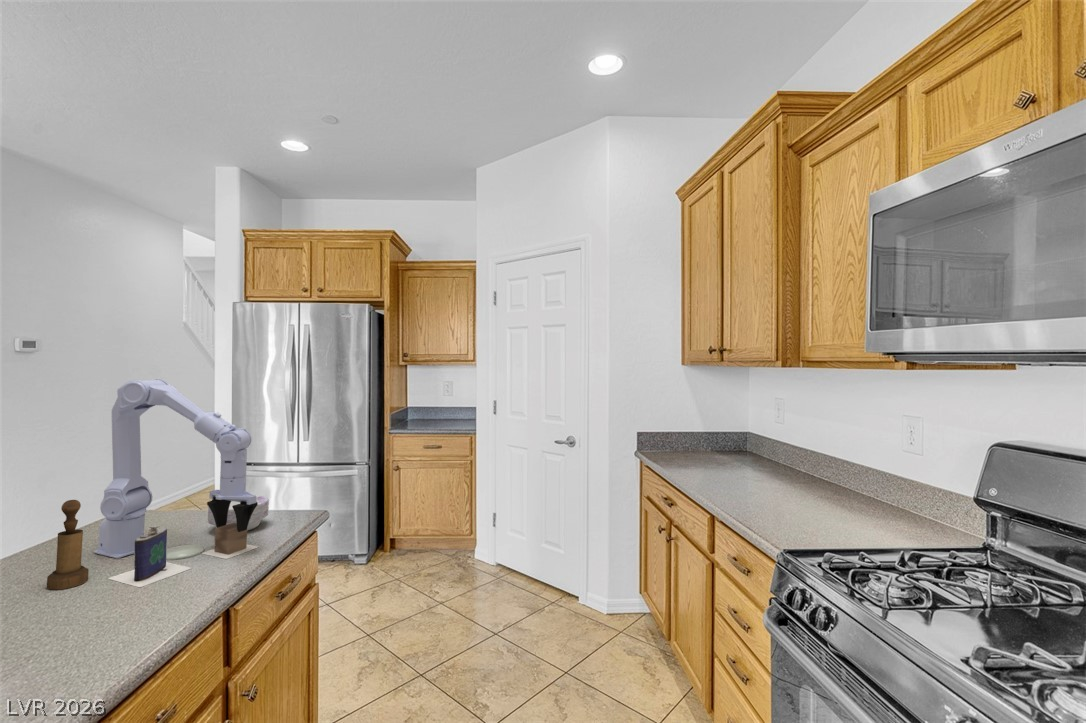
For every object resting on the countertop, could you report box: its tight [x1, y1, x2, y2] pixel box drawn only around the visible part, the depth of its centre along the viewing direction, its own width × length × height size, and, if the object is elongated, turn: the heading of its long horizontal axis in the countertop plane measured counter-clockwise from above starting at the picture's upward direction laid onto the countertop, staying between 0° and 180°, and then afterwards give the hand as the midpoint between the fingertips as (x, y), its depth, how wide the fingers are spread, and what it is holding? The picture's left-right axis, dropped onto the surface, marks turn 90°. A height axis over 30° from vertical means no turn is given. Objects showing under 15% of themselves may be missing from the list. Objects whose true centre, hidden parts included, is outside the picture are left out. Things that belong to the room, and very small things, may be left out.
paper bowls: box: [207, 495, 270, 532], centre depth 144 cm, size 15×15×8 cm
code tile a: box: [107, 561, 193, 588], centre depth 111 cm, size 11×11×1 cm
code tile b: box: [201, 544, 259, 560], centre depth 126 cm, size 9×9×1 cm
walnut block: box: [214, 523, 248, 555], centre depth 126 cm, size 5×5×6 cm
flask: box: [133, 525, 168, 582], centre depth 112 cm, size 9×3×11 cm, turn 8°
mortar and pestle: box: [46, 499, 89, 591], centre depth 106 cm, size 7×6×18 cm
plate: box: [166, 543, 206, 561], centre depth 124 cm, size 9×9×1 cm
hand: (231, 528), depth 127 cm, fingers open, 7 cm apart
